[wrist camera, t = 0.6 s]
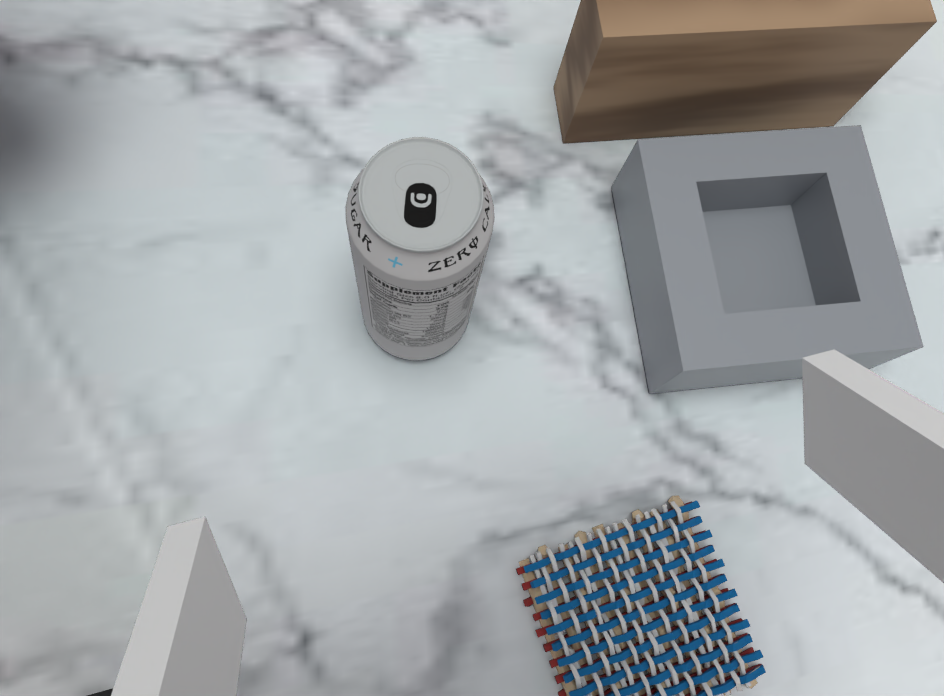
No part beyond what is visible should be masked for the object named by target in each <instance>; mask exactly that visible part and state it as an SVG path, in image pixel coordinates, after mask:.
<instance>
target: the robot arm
mask: <svg viewBox="0 0 944 696" xmlns="http://www.w3.org/2000/svg"><path fill="white" fill-rule="evenodd" d="M802 376H803V416H804V457H805V464H806V465H807V466H808V467H809V468H810V469H811V470H813V471H814V472H815V473H816V474H817V475H818V476H820V477H821V478H822V479H823V480H824V481H825V482H827V483H828V484H829V485H830V486H831V487H832V488H834V489H835V490H836V491H837V492H838V493H839V494H841V495H842V496H843V497H844V498H845V499H846V500H848V501H849V502H850V503H851V504H852V505H853V506H855V507H856V508H857V509H858V510H859V511H860V512H862V513H863V514H864V515H865V516H866V517H867V518H869V519H870V520H871V521H872V522H873V523H874V524H875V525H877V526H878V527H879V528H880V529H881V530H882V531H884V532H885V533H886V534H887V535H888V536H889V537H891V538H892V539H893V540H894V541H895V542H896V543H898V544H899V545H900V546H901V547H902V548H903V549H905V550H906V551H907V552H908V553H909V554H910V555H912V556H913V557H914V558H915V559H916V560H917V561H919V562H920V563H921V564H922V565H923V566H924V567H926V568H927V569H928V570H929V571H930V572H931V573H933V574H934V575H935V576H936V577H937V578H938V579H940V580H941V581H942V582H943V583H944V413H942V412H941V411H939V410H937V409H936V408H934V407H932V406H930V405H929V404H927V403H925V402H924V401H922V400H920V399H918V398H917V397H915V396H913V395H912V394H910V393H908V392H907V391H905V390H903V389H901V388H900V387H898V386H896V385H895V384H893V383H891V382H889V381H888V380H886V379H884V378H883V377H881V376H879V375H877V374H876V373H874V372H872V371H871V370H869V369H867V368H865V367H864V366H862V365H860V364H859V363H857V362H855V361H853V360H852V359H850V358H848V357H847V356H845V355H843V354H841V353H840V352H838V351H836V350H835V349H834V350H830V351H826V352H822V353H818V354H815V355H811V356H807V357H803V358H802ZM246 622H247V618H246V616H245V613H244V611H243V608H242V606H241V604H240V601H239V599H238V596H237V594H236V591H235V589H234V586H233V584H232V581H231V579H230V576H229V574H228V571H227V569H226V566H225V564H224V561H223V559H222V556H221V554H220V552H219V549H218V547H217V544H216V542H215V539H214V537H213V534H212V532H211V529H210V527H209V524H208V522H207V519H206V517H205V516H204V517H201V518H197V519H193V520H189V521H185V522H182V523H178V524H174V525H170V526H167V529H166V532H165V535H164V538H163V541H162V544H161V547H160V550H159V553H158V556H157V559H156V562H155V565H154V568H153V571H152V574H151V577H150V580H149V583H148V586H147V589H146V592H145V595H144V598H143V601H142V604H141V607H140V610H139V613H138V616H137V619H136V622H135V625H134V628H133V631H132V634H131V637H130V640H129V643H128V646H127V649H126V652H125V655H124V658H123V661H122V664H121V667H120V670H119V673H118V676H117V679H116V682H115V685H114V688H113V689H109V690H105V691H102V692H98V693H95V694H91V695H88V696H236V694H237V687H238V680H239V672H240V665H241V658H242V651H243V644H244V637H245V629H246Z"/></svg>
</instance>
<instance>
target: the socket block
mask: <svg viewBox="0 0 944 696" xmlns="http://www.w3.org/2000/svg"><path fill="white" fill-rule="evenodd" d="M611 188H612V193H613V199H614V204H615V209H616V215H617V220H618V226H619V231H620V237H621V242H622V248H623V253H624V258H625V264H626V269H627V275H628V280H629V286H630V291H631V297H632V302H633V307H634V313H635V318H636V324H637V329H638V335H639V340H640V346H641V351H642V356H643V362H644V367H645V373H646V378H647V384H648V389H649V394H653V393H662V392H672V391H681V390H691V389H701V388H710V387H720V386H730V385H739V384H749V383H759V382H768V381H778V380H788V379H797V378H803V376H802V358H803V357H807V356H811V355H815V354H818V353H822V352H826V351H830V350H834V349H835V350H836V351H838V352H840V353H841V354H843V355H845V356H847V357H848V358H850V359H852V360H853V361H855V362H857V363H859V364H860V365H862V366H864V367H865V368H867V369H870V368H873V367H875V366H877V365H880V364H882V363H885V362H887V361H890V360H892V359H895V358H897V357H900V356H902V355H905V354H907V353H909V352H912V351H914V350H917V349H919V348H922V347H923V344H922V340H921V336H920V333H919V329H918V326H917V322H916V319H915V315H914V312H913V308H912V305H911V301H910V298H909V294H908V291H907V287H906V283H905V280H904V276H903V273H902V269H901V266H900V262H899V259H898V255H897V252H896V248H895V245H894V241H893V238H892V234H891V231H890V227H889V223H888V220H887V216H886V213H885V209H884V206H883V202H882V199H881V195H880V192H879V188H878V185H877V181H876V178H875V174H874V170H873V167H872V163H871V160H870V156H869V153H868V149H867V146H866V142H865V139H864V135H863V132H862V128H861V125H857V126H841V127H825V128H810V129H794V130H779V131H763V132H747V133H732V134H716V135H700V136H685V137H669V138H654V139H638V140H637V142H636V144H635V146H634V147H633V149H632V151H631V153H630V155H629V156H628V158H627V160H626V162H625V164H624V165H623V167H622V169H621V171H620V173H619V174H618V176H617V178H616V180H615V182H614V183H613V185H612V187H611Z"/></svg>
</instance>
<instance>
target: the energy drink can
mask: <svg viewBox="0 0 944 696" xmlns="http://www.w3.org/2000/svg"><path fill="white" fill-rule="evenodd" d="M346 224H347V230H348V235H349V241H350V247H351V252H352V258H353V264H354V270H355V275H356V281H357V287H358V292H359V298H360V304H361V309H362V315H363V319H364V324H365V326H366V329H367V331H368V333H369V335H370V336H371V337H372V339H373V340H374V341H375V343H376V344H377V345H379V346H380V347H381V348H382V349H383V350H385V351H386V352H388V353H390V354H391V355H394V356H396V357H399V358H402V359H408V360H426V359H430V358H434V357H436V356H439V355H441V354H443V353H445V352H446V351H448V350H449V349H451V348H452V347H453V346H454V345H455V344H456V343H457V342H458V341H459V340H460V338H461V336H462V335H463V333H464V332H465V329H466V327H467V324H468V321H469V317H470V313H471V310H472V306H473V302H474V298H475V295H476V291H477V287H478V283H479V280H480V276H481V272H482V268H483V265H484V261H485V257H486V253H487V250H488V246H489V242H490V239H491V235H492V231H493V224H494V205H493V201H492V198H491V194H490V191H489V189H488V187H487V185H486V184H485V182H484V180H483V179H482V177H481V176H480V175H479V173H478V171H477V169H476V167H475V166H474V164H473V163H472V162H471V161H470V159H469V158H468V157H467V156H466V155H465V154H464V153H462V152H461V151H460V150H459V149H457V148H455V147H454V146H452V145H450V144H449V143H446V142H443V141H440V140H438V139H432V138H427V137H412V138H407V139H401V140H399V141H396V142H393V143H391V144H389V145H387V146H386V147H384V148H382V149H381V150H379V151H378V152H377V153H376V154H375V155H374V156H373V157H372V158H371V159H370V161H369V162H368V163H367V165H366V166H365V168H364V169H362V171H361V172H360V173H359V175H358V176H357V177H356V179H355V180H354V182H353V184H352V186H351V189H350V191H349V193H348V198H347V202H346Z"/></svg>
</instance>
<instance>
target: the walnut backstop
mask: <svg viewBox="0 0 944 696" xmlns="http://www.w3.org/2000/svg"><path fill="white" fill-rule="evenodd" d="M936 22H937V20H936V17H935V14H934V11H933V8H932V5H931V1H930V0H581V2H580V5H579V8H578V11H577V15H576V18H575V21H574V24H573V27H572V30H571V34H570V37H569V40H568V43H567V46H566V49H565V53H564V56H563V59H562V62H561V65H560V68H559V72H558V75H557V78H556V81H555V84H554V93H555V99H556V105H557V111H558V117H559V123H560V129H561V135H562V141H563V143H576V142H592V141H608V140H623V139H639V138H655V137H670V136H686V135H702V134H717V133H733V132H749V131H764V130H780V129H796V128H811V127H827V126H834V125H835V124H836V123H837V122H838V121H839V120H840V119H841V118H842V117H843V116H844V115H845V114H846V113H847V112H848V111H849V110H850V109H851V108H852V107H853V106H854V105H855V104H856V103H857V102H858V101H859V100H860V99H861V98H862V97H863V95H864V94H865V93H866V92H867V91H868V90H869V89H870V88H871V87H872V86H873V85H874V84H875V83H876V82H877V81H878V80H879V79H880V78H881V77H882V76H883V75H884V74H885V73H886V72H887V71H888V70H889V69H890V68H891V67H892V66H893V65H894V64H895V63H896V62H897V61H898V60H899V59H900V58H901V57H902V56H903V55H904V54H905V53H906V52H907V51H908V50H909V49H910V48H911V47H912V46H913V45H914V44H915V43H916V42H917V41H918V40H919V39H920V38H921V37H922V36H923V35H924V34H925V33H926V32H927V31H928V30H929V29H930V28H931V27H932V26H933V25H934V24H935V23H936Z"/></svg>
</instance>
